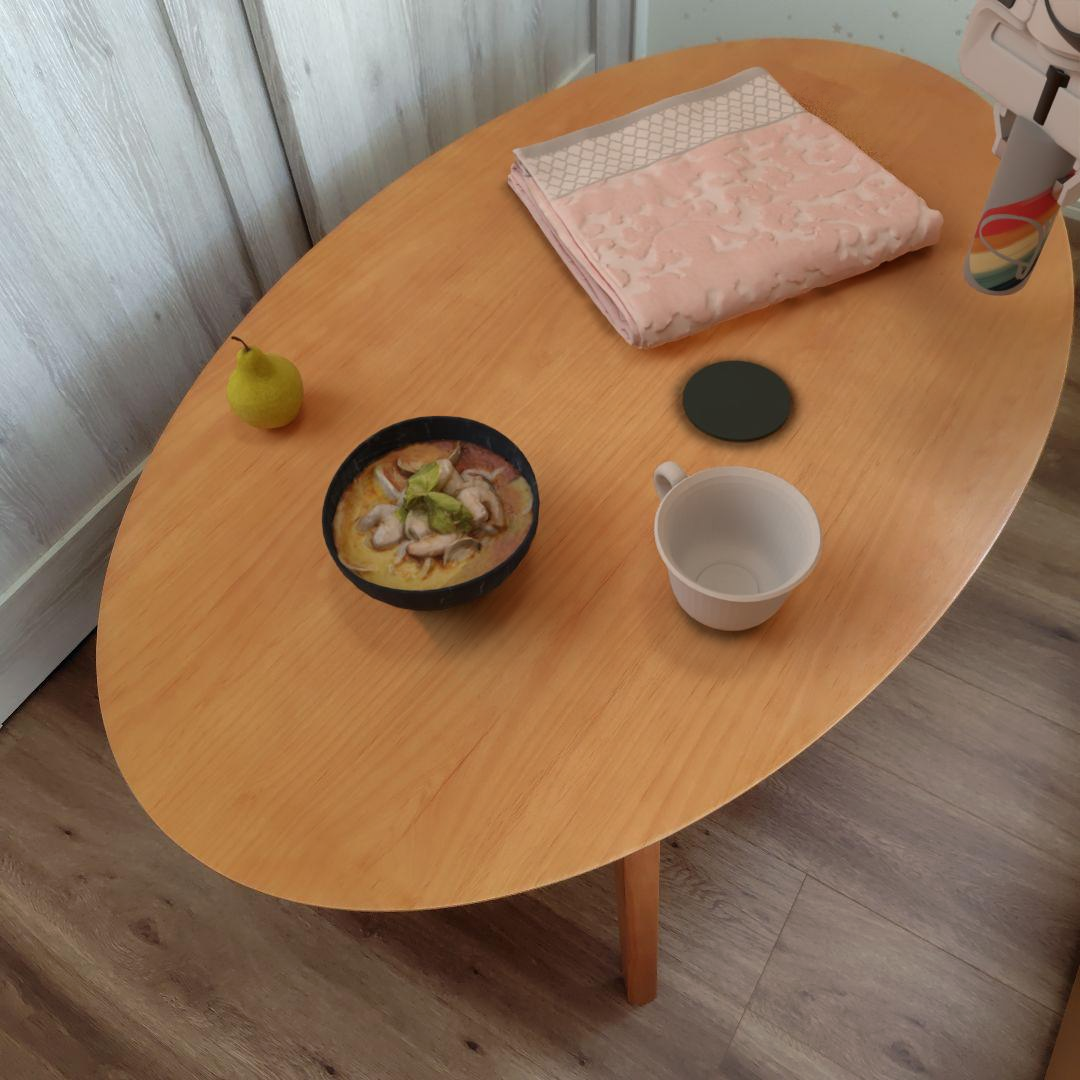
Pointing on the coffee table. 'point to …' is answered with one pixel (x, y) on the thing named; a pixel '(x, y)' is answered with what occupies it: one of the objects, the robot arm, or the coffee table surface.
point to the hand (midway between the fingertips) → (1032, 177)
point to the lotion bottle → (1019, 202)
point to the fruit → (264, 388)
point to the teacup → (733, 542)
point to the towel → (714, 207)
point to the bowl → (431, 513)
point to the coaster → (736, 401)
